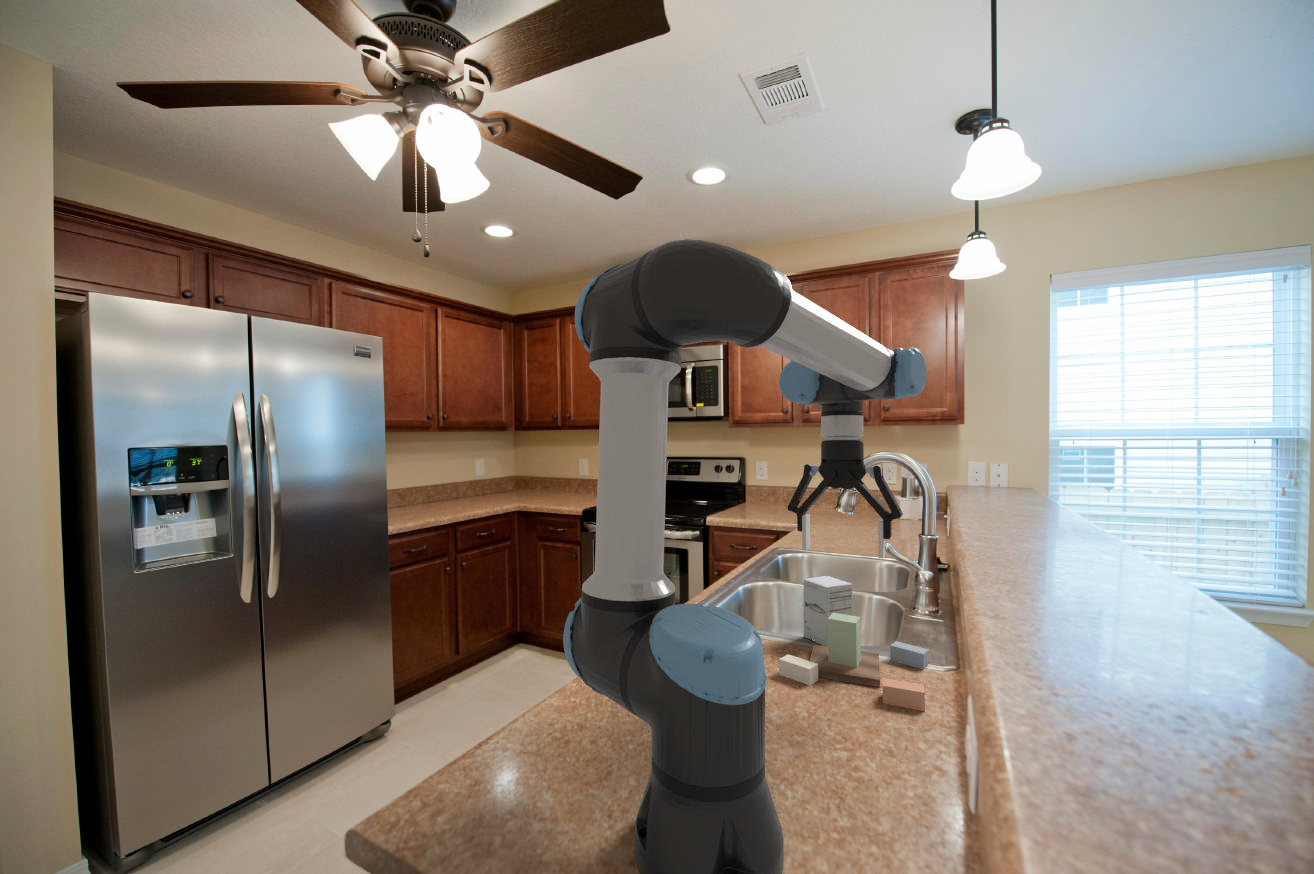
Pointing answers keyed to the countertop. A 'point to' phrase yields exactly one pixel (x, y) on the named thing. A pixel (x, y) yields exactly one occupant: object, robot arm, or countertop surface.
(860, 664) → the walnut board
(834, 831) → the countertop surface
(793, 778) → the countertop surface
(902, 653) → the slate brick
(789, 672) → the cream brick
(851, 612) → the supplement box
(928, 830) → the countertop surface
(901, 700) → the terracotta brick
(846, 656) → the sage brick
